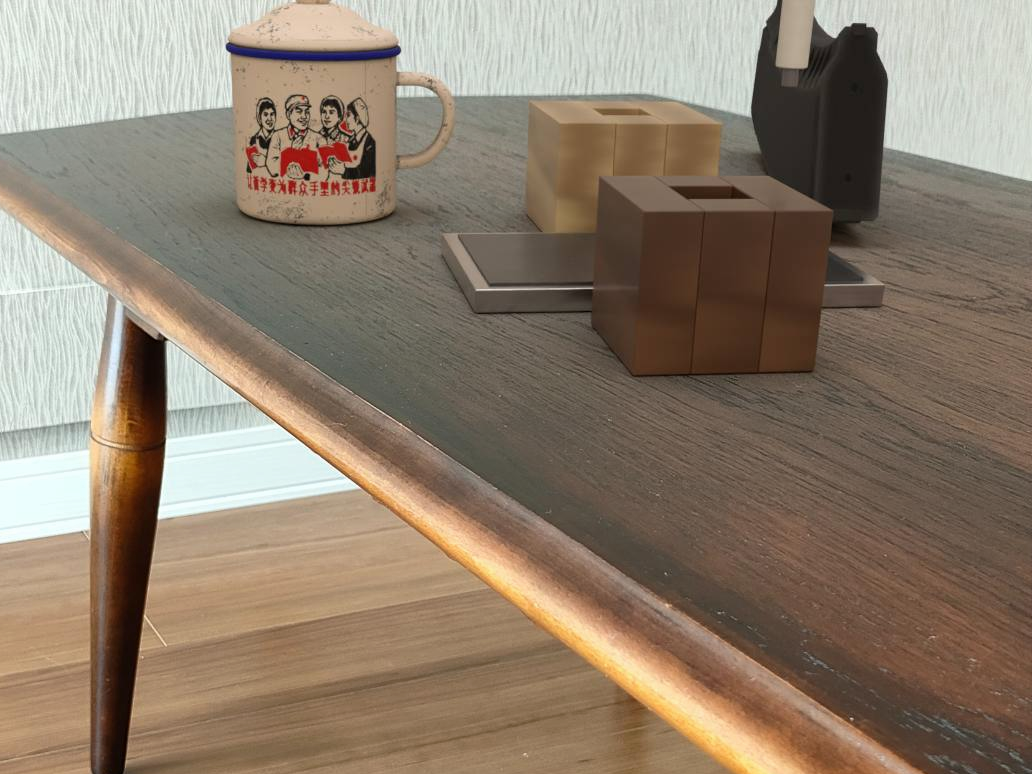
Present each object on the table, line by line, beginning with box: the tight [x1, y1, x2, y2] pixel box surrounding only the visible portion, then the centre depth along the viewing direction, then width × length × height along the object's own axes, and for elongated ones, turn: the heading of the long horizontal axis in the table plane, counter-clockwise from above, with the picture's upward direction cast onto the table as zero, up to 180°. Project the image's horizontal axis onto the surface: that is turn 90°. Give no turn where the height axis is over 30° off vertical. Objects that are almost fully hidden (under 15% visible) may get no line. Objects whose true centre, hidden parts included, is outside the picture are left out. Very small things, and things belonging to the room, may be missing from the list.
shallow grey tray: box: [440, 232, 886, 314], centre depth 66 cm, size 18×11×1 cm, turn 99°
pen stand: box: [524, 100, 723, 233], centre depth 76 cm, size 8×8×6 cm
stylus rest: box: [590, 175, 833, 376], centre depth 55 cm, size 7×7×6 cm
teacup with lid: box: [225, 0, 457, 226], centre depth 77 cm, size 12×9×12 cm
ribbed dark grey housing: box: [750, 0, 889, 224], centre depth 85 cm, size 17×3×30 cm
